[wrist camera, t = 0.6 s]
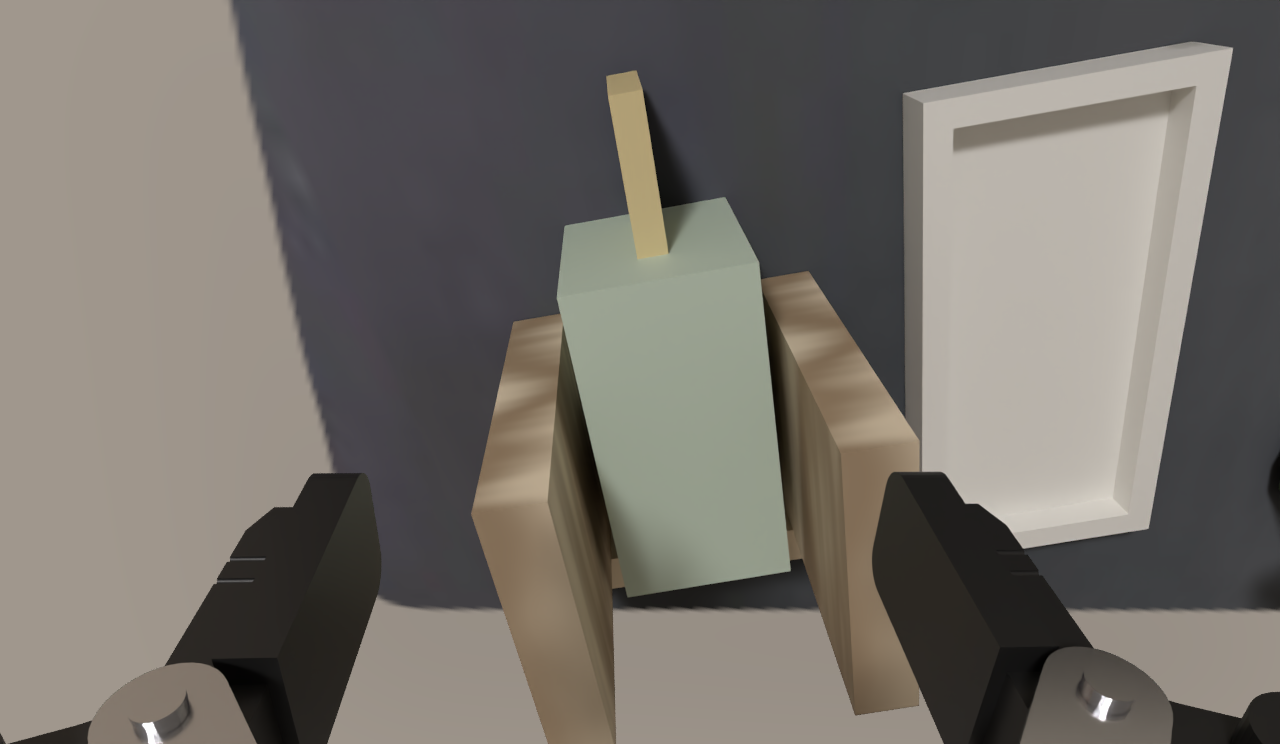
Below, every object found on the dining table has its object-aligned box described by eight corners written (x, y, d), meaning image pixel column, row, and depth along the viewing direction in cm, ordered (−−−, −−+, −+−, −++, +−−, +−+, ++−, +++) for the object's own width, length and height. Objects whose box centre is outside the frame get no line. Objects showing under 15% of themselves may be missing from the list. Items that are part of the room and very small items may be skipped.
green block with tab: (707, 53, 27) (740, 84, 21) (756, 461, 35) (790, 570, 29) (534, 85, 27) (516, 125, 21) (621, 483, 35) (627, 597, 29)
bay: (808, 271, 31) (919, 440, 20) (824, 507, 36) (918, 738, 26) (513, 321, 31) (471, 514, 21) (573, 548, 37) (564, 792, 26)
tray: (1192, 41, 28) (1233, 48, 26) (1121, 500, 37) (1148, 528, 35) (902, 93, 28) (923, 103, 26) (906, 535, 37) (921, 564, 36)
